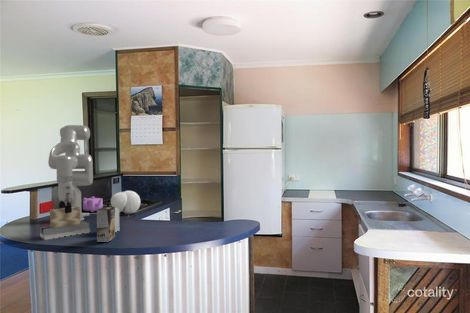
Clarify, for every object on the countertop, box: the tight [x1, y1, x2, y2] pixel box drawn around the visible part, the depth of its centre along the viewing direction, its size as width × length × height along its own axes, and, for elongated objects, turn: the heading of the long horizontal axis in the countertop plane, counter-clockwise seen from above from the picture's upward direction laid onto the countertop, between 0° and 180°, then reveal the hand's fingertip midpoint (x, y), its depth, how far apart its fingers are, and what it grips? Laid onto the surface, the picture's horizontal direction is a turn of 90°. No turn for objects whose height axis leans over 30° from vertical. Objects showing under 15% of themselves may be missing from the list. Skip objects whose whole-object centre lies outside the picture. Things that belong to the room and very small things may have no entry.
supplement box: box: [115, 209, 121, 233], centre depth 182 cm, size 7×7×13 cm
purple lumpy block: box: [82, 196, 104, 213], centre depth 246 cm, size 15×13×11 cm
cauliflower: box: [110, 190, 141, 215], centre depth 234 cm, size 20×18×16 cm
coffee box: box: [96, 206, 116, 243], centre depth 165 cm, size 9×6×16 cm
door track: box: [39, 220, 91, 241], centre depth 178 cm, size 22×9×5 cm, turn 133°
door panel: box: [49, 206, 81, 228], centre depth 178 cm, size 14×3×12 cm, turn 133°
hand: (65, 211), depth 178 cm, fingers open, 9 cm apart
